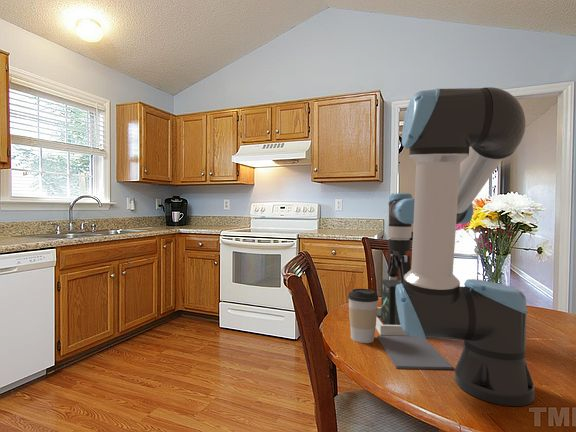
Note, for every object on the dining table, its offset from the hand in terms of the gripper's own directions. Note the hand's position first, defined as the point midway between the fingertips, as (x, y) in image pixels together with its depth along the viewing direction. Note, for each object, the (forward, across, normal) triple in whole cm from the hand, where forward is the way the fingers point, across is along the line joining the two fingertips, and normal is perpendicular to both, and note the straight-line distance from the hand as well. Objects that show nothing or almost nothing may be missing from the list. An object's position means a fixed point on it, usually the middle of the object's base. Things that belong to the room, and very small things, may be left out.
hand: (398, 300), depth 116 cm
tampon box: (+8, 0, 0) cm, 9 cm away
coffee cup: (+8, -14, +15) cm, 22 cm away
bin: (+8, 0, 0) cm, 8 cm away
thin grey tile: (+8, -22, +3) cm, 24 cm away
